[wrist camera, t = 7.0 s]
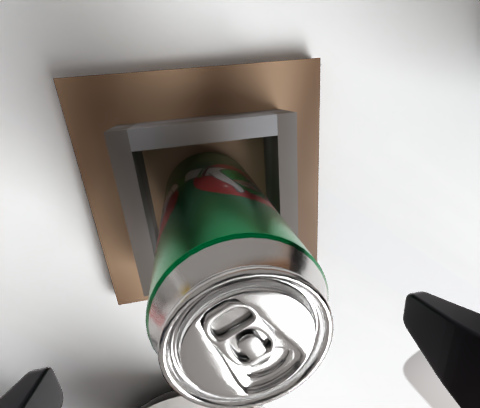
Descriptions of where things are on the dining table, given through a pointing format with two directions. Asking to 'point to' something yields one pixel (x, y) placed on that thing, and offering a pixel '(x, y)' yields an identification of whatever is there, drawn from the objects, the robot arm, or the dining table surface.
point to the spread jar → (174, 402)
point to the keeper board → (190, 147)
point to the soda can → (232, 291)
